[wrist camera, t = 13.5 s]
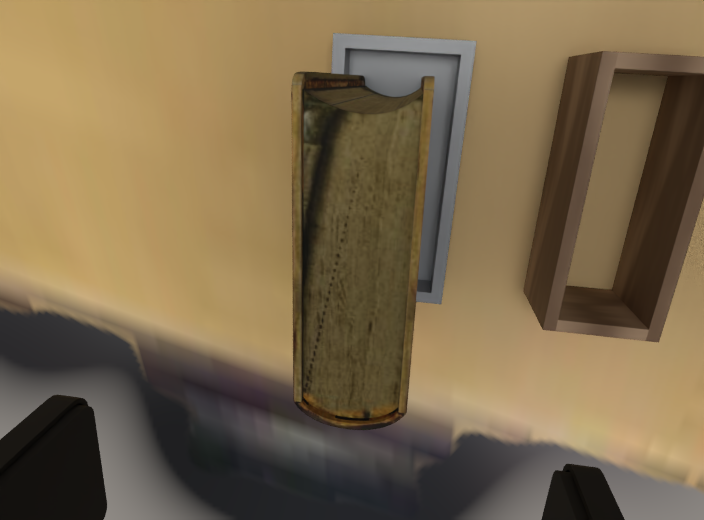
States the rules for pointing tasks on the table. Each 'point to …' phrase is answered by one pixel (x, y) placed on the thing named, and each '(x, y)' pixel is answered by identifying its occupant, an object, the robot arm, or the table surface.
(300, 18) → the table surface
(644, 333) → the frame
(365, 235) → the book
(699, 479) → the table surface
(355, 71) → the tray
